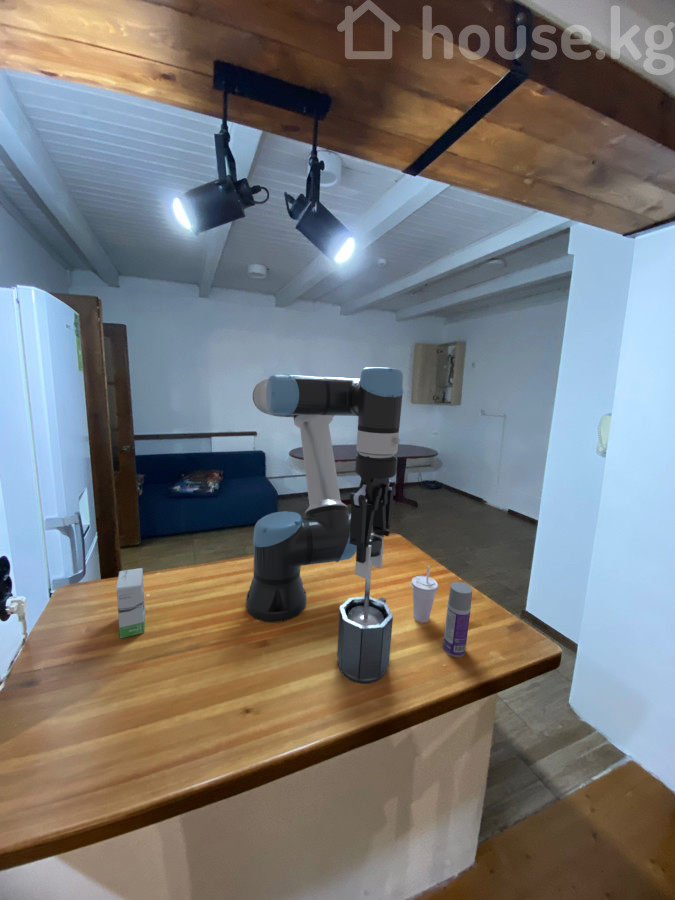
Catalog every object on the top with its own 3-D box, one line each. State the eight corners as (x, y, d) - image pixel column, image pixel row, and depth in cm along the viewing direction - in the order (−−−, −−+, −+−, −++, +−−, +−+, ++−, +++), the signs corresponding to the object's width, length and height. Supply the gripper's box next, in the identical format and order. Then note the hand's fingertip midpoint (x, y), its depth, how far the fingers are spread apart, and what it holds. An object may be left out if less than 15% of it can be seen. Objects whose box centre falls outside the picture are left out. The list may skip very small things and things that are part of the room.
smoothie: (435, 628, 87) (441, 574, 84) (407, 623, 88) (412, 570, 86) (433, 612, 93) (439, 561, 91) (408, 608, 94) (412, 558, 92)
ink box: (144, 633, 81) (142, 584, 79) (119, 639, 79) (115, 589, 76) (145, 611, 88) (142, 566, 86) (121, 616, 86) (118, 570, 84)
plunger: (340, 621, 72) (344, 540, 69) (359, 604, 78) (364, 529, 75) (372, 637, 68) (378, 552, 65) (389, 618, 74) (396, 538, 71)
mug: (328, 667, 74) (331, 613, 71) (360, 633, 84) (363, 586, 82) (371, 692, 68) (376, 635, 66) (400, 652, 79) (405, 602, 76)
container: (466, 646, 82) (474, 585, 79) (463, 660, 77) (472, 596, 75) (444, 639, 83) (451, 579, 81) (441, 652, 79) (448, 589, 76)
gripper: (371, 464, 58) (362, 598, 62) (414, 450, 72) (404, 560, 76) (332, 457, 62) (326, 583, 66) (380, 445, 76) (373, 549, 80)
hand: (368, 570), depth 71 cm, fingers closed on plunger, 4 cm apart
